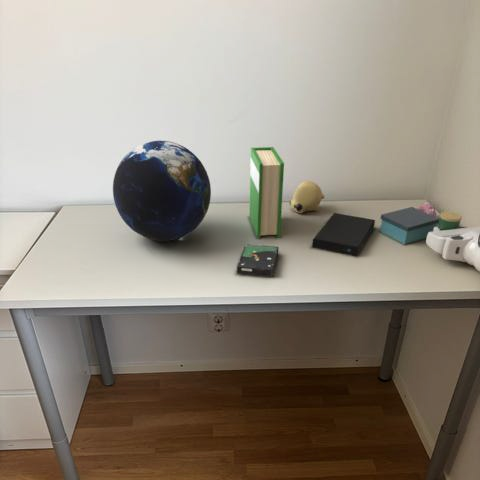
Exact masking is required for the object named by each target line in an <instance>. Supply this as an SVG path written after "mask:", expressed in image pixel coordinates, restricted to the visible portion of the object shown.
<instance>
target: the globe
mask: <svg viewBox="0 0 480 480" xmlns="http://www.w3.org/2000/svg"><path fill="white" fill-rule="evenodd" d="M112 196H113V200H114V202H113V203H114V206H115V208H116V210H117V212H118V214H119V216H120V218H121V219H122V220H123V222H124V223H125V224H126V225H127V226H128V227H129V228H130V229H131V230H132V231H134V232H135V233H136V234H139V236H142V237H144V238H146V239H148V240H152V241H159V242H168V241H170V242H171V241H175V240H178V239H181V238H183V237H186V236H188V235H189V234H191V233H192V232H193V231H194V230H196V229H197V227H199V226H200V224H201V223H202V222H203V221H204V218H205V217H206V215H207V213H208V211H209V208H210V203H211V197H212V188H211V181H210V178H209V175H208V171H207V169H206V168H205V166H204V164H203V163H202V162H201V160H200V159H199V158H198V157H197V156H196V154H195V153H194V152H193V151H191V150H189V148H187V147H186V146H183V145H181V144H179V143H176V142H174V141H169V140H151V141H147V142H144V143H141V144H139V145H138V146H136V147H134V148H132V149H131V150H130V151H129V152H127V154H125V156H123V158H122V159H121V161H120V162H119V164H118V166H117V168H116V170H115V172H114V176H113V181H112Z"/></svg>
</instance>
